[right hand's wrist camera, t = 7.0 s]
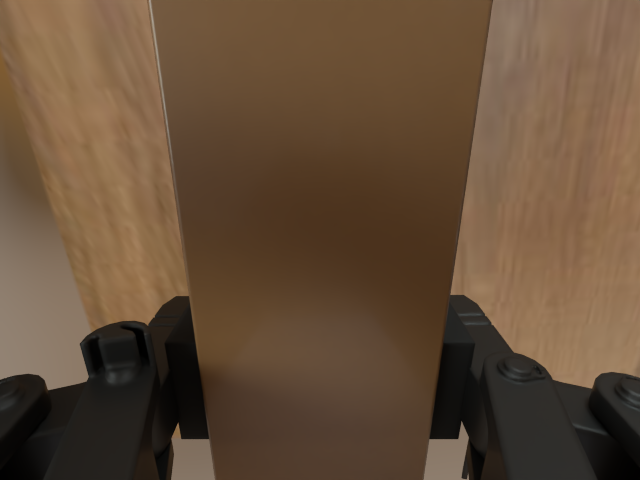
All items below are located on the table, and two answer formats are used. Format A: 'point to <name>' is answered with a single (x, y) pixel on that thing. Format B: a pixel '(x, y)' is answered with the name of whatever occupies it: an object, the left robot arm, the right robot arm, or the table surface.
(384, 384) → the post
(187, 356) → the right robot arm
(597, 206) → the table surface
